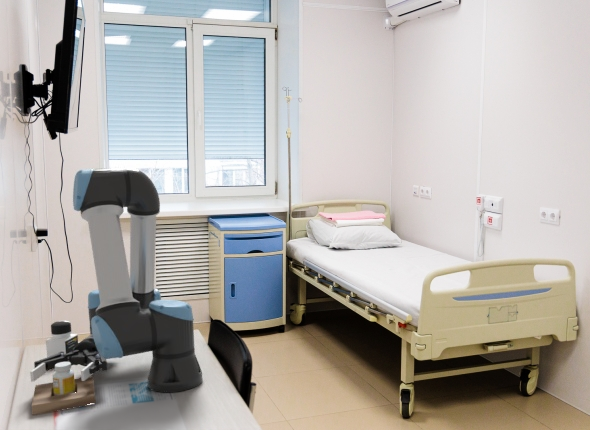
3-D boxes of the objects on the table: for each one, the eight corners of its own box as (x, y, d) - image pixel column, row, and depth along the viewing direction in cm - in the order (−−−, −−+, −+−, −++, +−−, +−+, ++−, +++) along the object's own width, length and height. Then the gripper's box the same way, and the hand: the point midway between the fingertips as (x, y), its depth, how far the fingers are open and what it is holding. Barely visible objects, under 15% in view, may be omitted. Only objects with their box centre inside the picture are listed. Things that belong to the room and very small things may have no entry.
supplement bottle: (51, 403, 156) (48, 368, 155) (57, 395, 161) (55, 361, 160) (72, 402, 156) (70, 366, 155) (78, 394, 162) (75, 360, 161)
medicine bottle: (67, 362, 189) (64, 325, 188) (46, 361, 190) (44, 325, 189) (79, 355, 196) (76, 319, 195) (60, 354, 197) (57, 319, 196)
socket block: (95, 404, 154) (94, 395, 154) (32, 415, 149) (31, 405, 149) (93, 384, 168) (93, 376, 168) (36, 393, 163) (35, 385, 163)
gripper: (132, 361, 175) (104, 389, 154) (50, 363, 177) (12, 390, 156) (131, 337, 175) (102, 361, 153) (48, 338, 176) (9, 362, 155)
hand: (57, 376), depth 155 cm, fingers open, 13 cm apart
